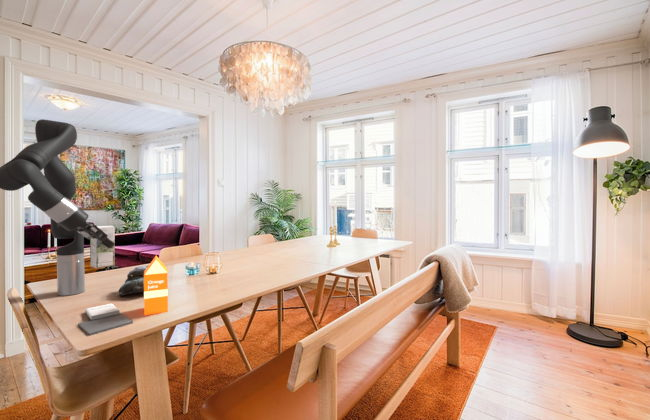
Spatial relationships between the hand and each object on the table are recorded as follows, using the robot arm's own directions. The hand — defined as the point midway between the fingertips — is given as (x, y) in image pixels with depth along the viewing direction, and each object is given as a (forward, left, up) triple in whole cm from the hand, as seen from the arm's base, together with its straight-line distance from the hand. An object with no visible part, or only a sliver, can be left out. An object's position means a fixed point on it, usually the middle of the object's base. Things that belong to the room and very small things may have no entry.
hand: (108, 245), depth 110 cm
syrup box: (0, -2, -7) cm, 8 cm away
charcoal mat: (+10, -4, -25) cm, 27 cm away
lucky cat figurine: (-17, +15, -25) cm, 34 cm away
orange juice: (+10, +12, -25) cm, 29 cm away
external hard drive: (0, -2, -25) cm, 25 cm away
